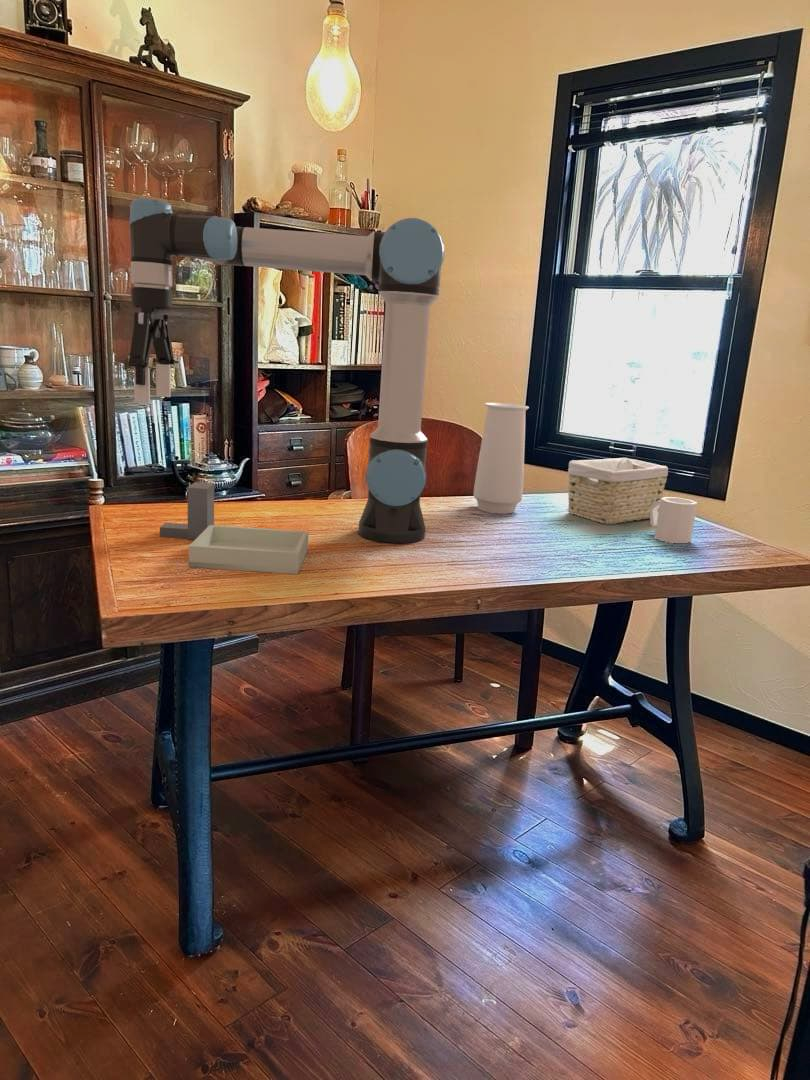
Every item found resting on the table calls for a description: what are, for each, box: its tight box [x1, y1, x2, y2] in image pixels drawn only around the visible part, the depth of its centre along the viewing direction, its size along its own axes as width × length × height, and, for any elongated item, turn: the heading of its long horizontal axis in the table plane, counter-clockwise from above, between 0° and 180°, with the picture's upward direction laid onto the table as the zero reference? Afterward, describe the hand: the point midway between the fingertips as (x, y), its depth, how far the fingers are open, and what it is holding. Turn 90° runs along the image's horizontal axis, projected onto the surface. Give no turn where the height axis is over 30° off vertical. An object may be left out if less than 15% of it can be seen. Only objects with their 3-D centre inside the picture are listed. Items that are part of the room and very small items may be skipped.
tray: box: [188, 524, 309, 575], centre depth 149 cm, size 20×16×4 cm
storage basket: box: [567, 457, 669, 525], centre depth 208 cm, size 24×16×15 cm
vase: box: [473, 402, 530, 515], centre depth 204 cm, size 13×13×28 cm
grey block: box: [159, 481, 215, 541], centre depth 160 cm, size 10×6×11 cm, turn 90°
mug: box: [649, 496, 698, 544], centre depth 189 cm, size 12×9×10 cm
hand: (153, 399), depth 153 cm, fingers open, 13 cm apart
